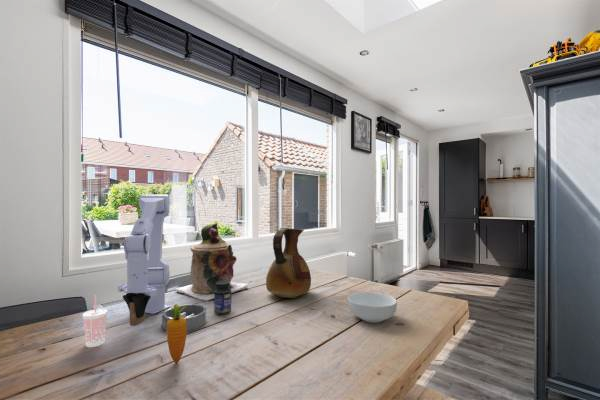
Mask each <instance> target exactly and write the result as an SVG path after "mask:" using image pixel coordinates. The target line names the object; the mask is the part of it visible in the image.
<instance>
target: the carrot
mask: <svg viewBox="0 0 600 400" xmlns="http://www.w3.org/2000/svg"><path fill="white" fill-rule="evenodd" d="M172 307H173V308H172ZM172 307H170V308H171V310H172V314H173V316H174V318H172V319H170V320H168V321H167V330H166V339H167V340H166V341H167V347H168V351H169V354H170V357H171V359H172V361H173V363H175V364H178V363H179V362H180V360H181V358H182V356H183V354H184V351H185V346H186V341H187V331H186V330H187V322H186V319H185V318H183V317H180V315H181V312H182V311H183V310H184V309H185V308H186V307H185V306H184V307H183V308H181V310H180V311H179V308H180V305H178V304H177V303H175V304H174V305H173V306H172ZM177 314H178V315H177Z"/></svg>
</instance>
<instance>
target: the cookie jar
mask: <svg viewBox="0 0 600 400" xmlns="http://www.w3.org/2000/svg"><path fill="white" fill-rule="evenodd" d="M218 223H219V222H218V221H214V223H211V224H207V225H204V226H203V227H202V228H201V230H200V231H201V232H200V236H201V239H202V241H201V242H200V243H198V244H195V245H193V246H190V252H192V256H191V263H190V281H191V283H192V284H188V285H185V286H181V287H175V290H176V292H178V293H180V294H184V295H186V296H189V297H192V298H195V299H198V300H201V301H205V302H208V301H210V300H213V299H214V291H215V290H216V289H217V287H216V283H217V282H220V281H228V282H229V288H230V289H231V294H232V293H235V292H238V291H242V290H246V289H247V287H248V286H249V283H244V282H243V283H242V282H240V283H239V282H235V281H232V279H233V277H234V265H235V263H236V262H237V257H236V256H234V251H233V247H232V245H231V244H229V243H227V241H226V240H224V239H222V237H221V236H220V234H219V228H218Z"/></svg>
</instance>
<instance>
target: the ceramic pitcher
mask: <svg viewBox="0 0 600 400" xmlns="http://www.w3.org/2000/svg"><path fill="white" fill-rule="evenodd" d="M304 231H305V229H300V228H299V229H298V228H290V227H280V228H279V229H278V230H277V231H276V232H275V233H274V235H273V237H272V238H273V239H272V249H273V252H274V253H273V254H274V257H275V259H274V260H273V262H272V264H271V265H270V267H269V269H268V272H267V274H266V280H265V286H266V287H265V288H266V290H267V291H268V293H271V294H274V295H276V296H277V297H282V298H290V299H291V298H293V299H294V298H298V296H301V295H305V294H306V293H307V294H308V292H309V291H310V290H311V284H312V275H311V272H310V268H309V266H308V263H307V262H306V261H307V260H305V258H304V257H303V256H302V255H301V254H300V252H299V249H298V243H299V237H300V235H301V234H302V233H303V232H304ZM283 237H284V242H285V243H284V249H283Z"/></svg>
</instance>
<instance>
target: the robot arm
mask: <svg viewBox="0 0 600 400" xmlns="http://www.w3.org/2000/svg"><path fill="white" fill-rule="evenodd" d="M170 202H171V201H170V196H169V194H165V193H164V194H144V193H142V194H141V195H140V196H139V198H138V206H139V209H140V211H141V214H140V218H139V219H137V220H136V221H135V222H134V225H133V227H132V229H131V232H130V234H129V235H128V236H126V237H125V238H124V241H123V250H124V255H125V260H126V283H122V284H119V285H117V292H118V293H121V292H124V295H122V299H123V300H124V302H125V303H126V306H127V308H128V311H129V312H130V302H132V301H134V304H135V309H136V317H137V318H141V317H143V316H144V313H145V314H146V313H147V314H152V315H155V314H157V313H159V312H161V311H165V310H167V309H170V308H171V306H170V304H169V305H167V304H166V298H165V297H166V286H167V284H168V283H169V281H170V266H169V263H167V262H166V261H164V260H163V257H162V254H163V237H164V234H163V232H164V222H165V218H167V217H169V216H170V215H169V214H170V209H171V208H170V206H171V203H170Z"/></svg>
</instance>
